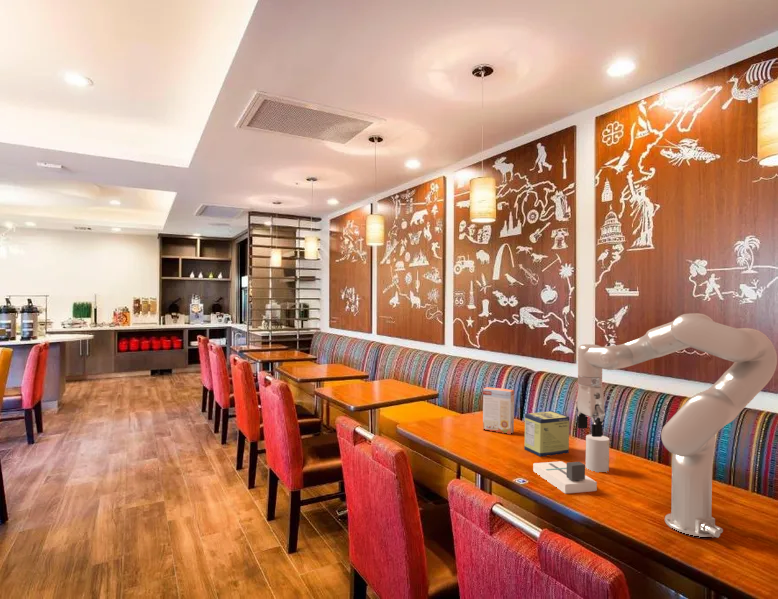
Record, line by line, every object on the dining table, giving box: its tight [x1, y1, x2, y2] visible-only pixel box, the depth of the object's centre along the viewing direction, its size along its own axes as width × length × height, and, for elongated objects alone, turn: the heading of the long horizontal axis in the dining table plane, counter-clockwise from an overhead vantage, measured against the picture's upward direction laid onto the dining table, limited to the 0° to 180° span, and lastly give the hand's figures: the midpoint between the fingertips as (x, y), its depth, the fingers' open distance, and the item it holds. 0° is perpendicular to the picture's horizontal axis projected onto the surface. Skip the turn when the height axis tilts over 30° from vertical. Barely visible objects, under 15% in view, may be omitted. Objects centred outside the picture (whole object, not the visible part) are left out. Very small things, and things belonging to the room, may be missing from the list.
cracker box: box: [482, 386, 515, 435], centre depth 222 cm, size 14×6×21 cm, turn 58°
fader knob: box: [566, 461, 586, 481], centre depth 154 cm, size 3×5×5 cm, turn 103°
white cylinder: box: [585, 433, 610, 473], centre depth 173 cm, size 8×8×12 cm
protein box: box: [523, 410, 570, 458], centre depth 193 cm, size 10×16×16 cm
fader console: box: [532, 460, 598, 494], centre depth 161 cm, size 20×12×3 cm, turn 13°
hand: (589, 432), depth 152 cm, fingers open, 9 cm apart
